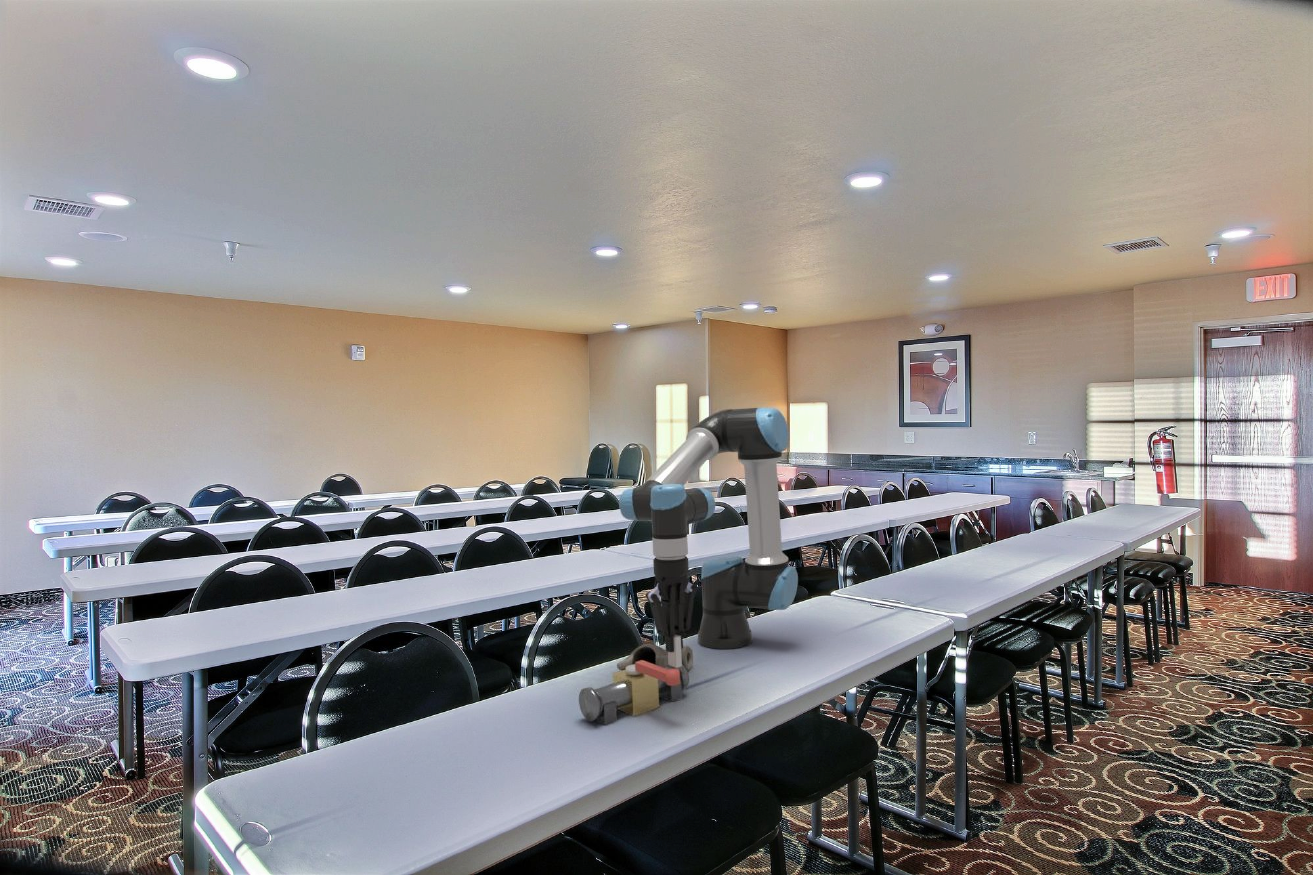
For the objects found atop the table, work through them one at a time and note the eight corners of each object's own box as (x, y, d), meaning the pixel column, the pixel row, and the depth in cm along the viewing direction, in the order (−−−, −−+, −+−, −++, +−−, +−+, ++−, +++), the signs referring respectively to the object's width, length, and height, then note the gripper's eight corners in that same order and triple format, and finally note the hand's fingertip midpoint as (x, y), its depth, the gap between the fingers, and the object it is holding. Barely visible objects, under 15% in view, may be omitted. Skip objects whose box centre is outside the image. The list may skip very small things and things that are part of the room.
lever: (622, 671, 163) (621, 656, 163) (636, 667, 166) (636, 652, 166) (670, 690, 150) (669, 674, 150) (685, 685, 153) (684, 669, 153)
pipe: (647, 702, 188) (623, 688, 176) (633, 670, 193) (609, 655, 181) (702, 668, 187) (682, 652, 175) (687, 637, 192) (666, 620, 180)
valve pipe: (670, 688, 174) (669, 656, 174) (690, 696, 168) (689, 663, 168) (579, 718, 158) (577, 683, 158) (597, 728, 153) (596, 692, 152)
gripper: (682, 550, 168) (686, 654, 168) (635, 558, 159) (640, 668, 160) (704, 554, 162) (709, 662, 162) (657, 563, 154) (662, 677, 154)
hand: (675, 665), depth 161 cm, fingers closed
